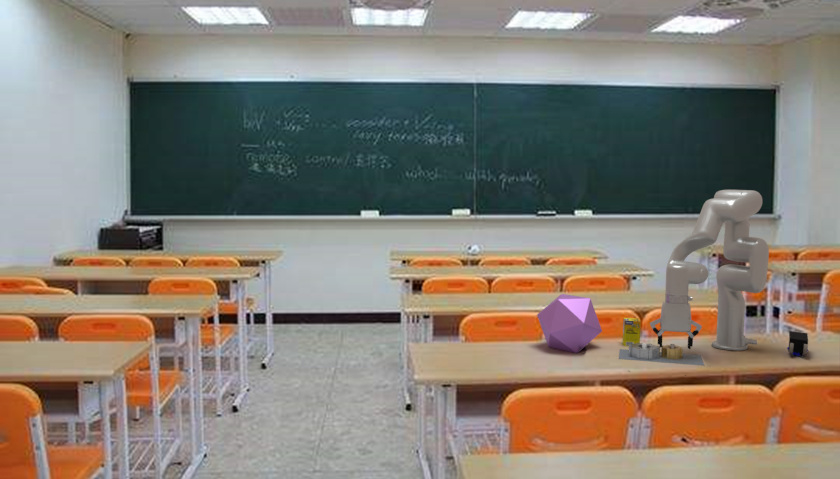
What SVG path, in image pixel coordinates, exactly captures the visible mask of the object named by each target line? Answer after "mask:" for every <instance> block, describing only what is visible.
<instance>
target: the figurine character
mask: <svg viewBox="0 0 840 479" xmlns="http://www.w3.org/2000/svg"><path fill="white" fill-rule="evenodd" d="M788 334H789V335H788V336H789V337H788V338H789V340H788V347H787V350H788V353H791V357H792V358H795V356H796V357H800V358H801V359H803V358H804V354H805V355H807V354H808V352H809V349H808V348H809V339H808V338H809V336H808V333H807V332H801V331H793V330H792V331H791V330H789V332H788Z"/></svg>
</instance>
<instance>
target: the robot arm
mask: <svg viewBox="0 0 840 479" xmlns="http://www.w3.org/2000/svg"><path fill="white" fill-rule="evenodd" d="M762 206H763V197H762V195H761V194H760V192H758V191H756V190H751V189H749V190H748V189H722V190H718V191H716V192H715V194H714V196H713V198H710V199H707V200H705V202H704V203H703V205H702V208H701V211H700V213H699V216H698V218H697V221H696V223H695V226H694V228H693V231H692V233H691V234H690V235H688V236H687V237H685V238H684V239H683V240H682V241H680V242H679V244H677V245H676V246H675V248H674V249H673V251H672V252H671V254H670V257H669V260H668V262H667V265H666V270H665V272H666V274H665V297H664V301H662V305H661V310H660V317H659V318H657V319H655V320H653V321H651V322H649V325H650V328H651V329H652V331H653V332H654V333H655V334H656V336H657V345H658V346H660V348H662V346H663V334H664V333H665V332H670V333H671V332H674V333H687V334H688V337H687V349H689V350H691V349H692V347H693V345H694V344H693V342H694V341H693V340H694V338H695V337H696V336H697V335H698V334H699V333H700V331H701V330H702V328H703V326H702V325H701V324H700V323H699V322H696V321H694V320H693V319H692V310H691V308H692V307H691V304H690V301H693V300H694V298H693V296H690V295H689V285H690V284H692V285H700V284H703V283H705V282H706V281H707V280H708V278H709V270H708V267H707V266H706V265H704V264H703V263H701V262H694V261H693V262H692V261H685V260H686V258H688V256H689V255H690V254H692V253H693V252H696V251H698V250H701V249H704V248H707V247H710V246H712V245H714V244H715V243H716V242H717V240H718V237H719V234H720V232H721V229H722V227H723V224H724V233H723V234H724V235H723V247H722V248H723V250H722V252H723V257H724V259H726V260H729V261H733V262H740V263H748V264H749V265H741V264H730V263H729V264H724V265H721V266H720V267H718V269H717V272H716V285H717V296H718V297H717V315H716V316H717V321H716V322H717V323H716V340H714V341H712V342H711V346H712V347H714V348H715V349H721V350H724V351H734V352H735V351H739V352H740V351H746V350H748V347H749V345H754V346H755V345H757V346H758V339H753V338H748V337H746V336H745V318H746V315H745V314H746V313H745V312H746V300H745V297H744V295H743V293H742V292H745V293H752V294H753V293H754V294H758V293H760V292H763V290H764V289H765V287H766V283H767V278H768V265H769V254H770V253H769V252H770V249H769V244H768V243H767V241H766V240H765V239H764V238H762V237H761V238H760V237H755V236H754V237H753V236H750V221H749V218H750V217H752V216H753V215H755V214H757V213H759V211H760V210H761V208H762ZM658 324H659V327H660V329H658V328H657V327H656V325H658ZM692 326H694V327H696V328H695V330H693V331H692Z"/></svg>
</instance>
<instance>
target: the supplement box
mask: <svg viewBox="0 0 840 479" xmlns="http://www.w3.org/2000/svg"><path fill="white" fill-rule="evenodd" d="M622 319H623V320H622V321H623V323H622V324H623V325H622V326H623V327H622V346H623V347H629V344H636V343H641V326H642V325H641V324H642V323H641V319H640V318H637V317H623V318H622Z"/></svg>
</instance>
